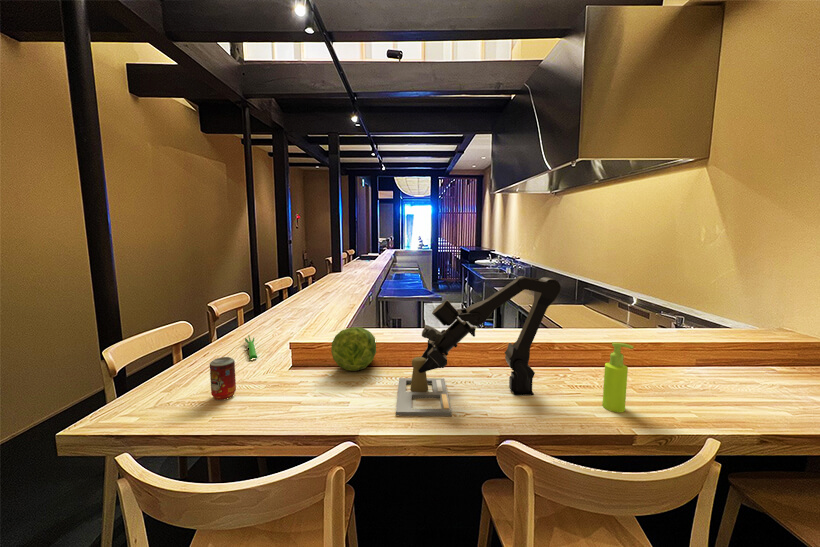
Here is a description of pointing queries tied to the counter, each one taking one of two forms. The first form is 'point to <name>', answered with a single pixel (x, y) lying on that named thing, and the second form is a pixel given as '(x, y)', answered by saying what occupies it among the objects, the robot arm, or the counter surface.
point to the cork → (418, 376)
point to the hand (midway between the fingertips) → (419, 366)
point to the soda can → (222, 378)
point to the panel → (406, 397)
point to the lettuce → (353, 348)
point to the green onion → (251, 348)
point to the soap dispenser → (615, 380)
